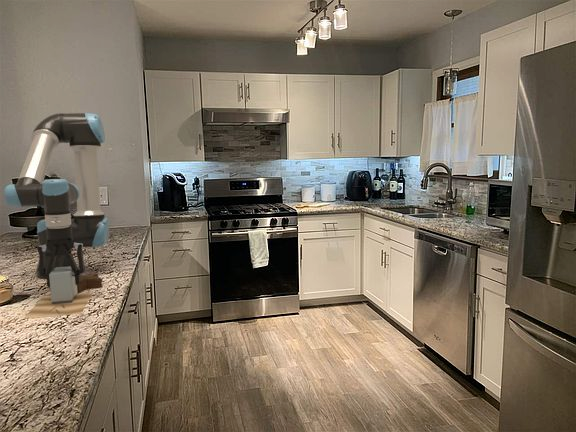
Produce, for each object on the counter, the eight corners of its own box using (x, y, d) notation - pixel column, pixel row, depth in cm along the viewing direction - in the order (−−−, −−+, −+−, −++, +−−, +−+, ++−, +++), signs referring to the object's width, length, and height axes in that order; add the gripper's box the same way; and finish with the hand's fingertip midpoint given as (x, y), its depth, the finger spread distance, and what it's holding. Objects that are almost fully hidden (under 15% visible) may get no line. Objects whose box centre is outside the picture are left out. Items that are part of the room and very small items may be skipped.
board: (43, 297, 156) (43, 296, 156) (93, 293, 160) (93, 292, 160) (23, 320, 135) (22, 318, 135) (81, 315, 139) (81, 313, 139)
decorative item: (68, 286, 156) (49, 273, 165) (69, 302, 157) (49, 289, 166) (111, 276, 168) (91, 265, 177) (111, 291, 169) (91, 279, 178)
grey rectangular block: (58, 295, 156) (56, 267, 155) (77, 294, 158) (75, 266, 156) (51, 304, 148) (49, 274, 146) (71, 302, 149) (69, 272, 148)
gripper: (23, 230, 143) (29, 301, 147) (88, 227, 148) (93, 295, 151) (30, 226, 150) (36, 294, 154) (92, 223, 155) (96, 289, 158)
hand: (64, 294), depth 152 cm, fingers closed on grey rectangular block, 6 cm apart
